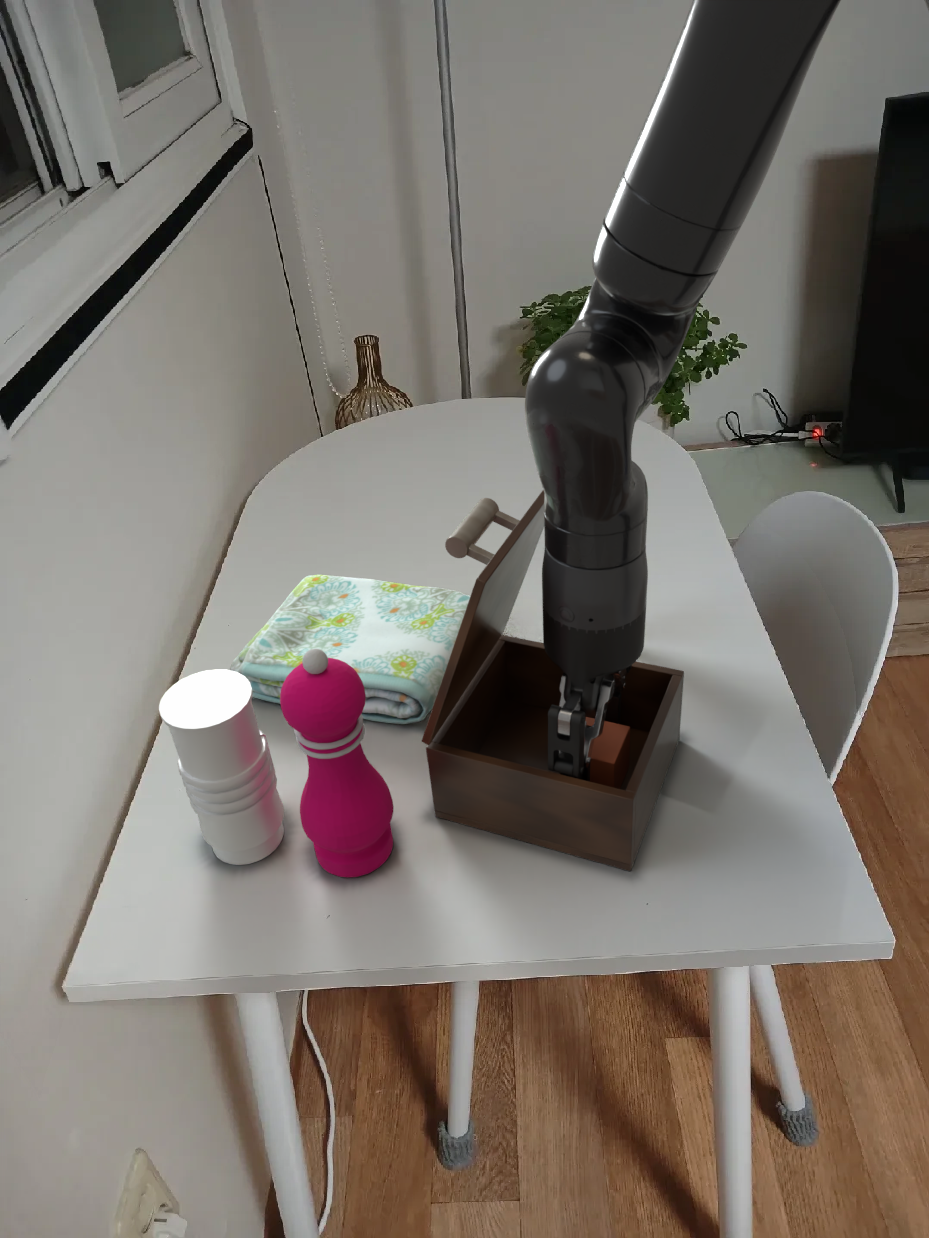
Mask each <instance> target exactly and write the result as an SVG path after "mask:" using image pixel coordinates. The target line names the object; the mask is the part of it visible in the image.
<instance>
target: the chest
mask: <svg viewBox="0 0 929 1238" xmlns="http://www.w3.org/2000/svg"><path fill="white" fill-rule="evenodd" d="M563 672H564V671H563V670H562V669H561V668H560V667H559V666H558V665H556V664H555V663H554V662H553V661H552V660H551V659H550V658H549V656H548V655H547V653H546V651H545V648H544V644H543V642H540V641H535V640H530V639H525V638H519V637H515V636H509V635H505V634H502V635H501V637H500V638H499V640H498V641H497V643H496V644H495V646H494V647H493V649H492V650H491V652H490V654H489V655H488V657H487V658H486V660H485V661H484V663H483V664H482V666H481V667H480V669H479V670H478V672H477V673H476V675H475V676H474V678H473V679H472V681H471V682H470V684H469V685H468V687H467V688H466V690H465V692H464V693H463V695H462V696H461V698H460V699H459V701H458V702H457V704H456V705H455V707H454V708H453V710H452V711H451V713H450V714H449V716H448V717H447V719H446V720H445V722H444V723H443V725H442V726H441V728H440V729H439V731H438V733H437V734H436V736H435V737H434V739H433V740H432V742H431V743H430V745H427V744H426V747H425V750H426V751H425V752H426V759H427V766H428V767H427V768H428V773H429V781H430V788H431V795H432V802H433V809H434V817H436V818H439V819H443V820H446V821H449V822H453V823H457V824H460V825H464V826H468V827H472V828H475V829H477V830H482V831H485V832H490V833H492V834H495V835H499V836H504V837H506V838H510V839H514V840H517V841H520V842H524V843H527V844H531V845H535V846H538V847H543V848H545V849H549V850H553V851H556V852H560V853H563V854H567V855H570V856H574V857H578V858H581V859H583V860H584V859H585V860H588V861H592V862H595V863H599V864H603V865H606V866H610V867H613V868H617V869H620V870H624V871H627V872H631V871H632V870H633V866H634V865H635V861H636V858H637V855H638V853H639V850H640V848H641V845H642V842H643V840H644V837H645V834H646V832H647V828H648V826H649V824H650V821H651V818H652V815H653V813H654V809H655V806H656V804H657V802H658V798H659V796H660V793H661V791H662V788H663V785H664V782H665V779H666V778H667V774H668V772H669V769H670V766H671V764H672V761H673V758H674V755H675V752H676V749H677V748H678V744H679V741H680V737H681V724H682V723H681V722H682V708H683V695H684V694H683V693H684V678H685V671H684V670H683V669H682V670H681V669H677V668H671V667H667V666H661V665H656V664H651V663H647V662H640V661H638V660H636V661H635V662H634V663H633V664H632V668H631V670H630V671H629V673H627V675H626V679H625V682H626V686H625V688H624V689H623V692H621V713H620V723H619V724H621V725H625V726H629V727H630V751H629V768H628V770H627V773H626V775H625V778H624V780H623V782H622V785H621V787H620V789H617V788H613V787H609V786H605V785H601V784H597V783H593V782H589V781H585V780H581V779H577V778H573V777H569V776H565V775H561V774H560V773H558V772H554V771H550V770H548V710H549V709H550V707H551V705H556V706H559V704H560V699H561V692H560V690H559V688H560V682H561V677H562V674H563ZM585 717H588V716H585ZM590 718H593V717H590Z"/></svg>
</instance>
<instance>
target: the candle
mask: <svg viewBox="0 0 929 1238" xmlns="http://www.w3.org/2000/svg"><path fill="white" fill-rule="evenodd" d="M252 694H253V691H252V688H251V685H250V682H249V680H248V679H247V678H246V677H245V676H244V675H242V674H240V673H238V672H235V671H231V670H230V669H224V668H222V669H219V668H214V669H206V670H201V671H199V672H195V673H192V674H189V675H188V676H186V677H183V678H181V679H180V680H178V681H177V682H175V683H174V684H172V685H171V686H170V687H169V688H168V689H167V690H166V691H165V692H164V694H163V696H162V697H161V698H160V701H159V705H158V710H159V715H160V718H161V720H162V722H163V723H164V724H165V726H166V727H168V730H169V733H170V735H171V738H172V742H173V744H174V747H175V750H176V753H177V756H178V758H177V768H178V773H179V775H180V777H181V781H182V785H183V786H184V788H185V793H186V795H187V796H186V797H187V798H188V800H189V804H190V806H191V809H192V810H193V812H194V813H195V814H196V815H197V818H198V822H199V823H198V824H199V827H200V833H201V837H202V838H203V840H204V841H205V842H206V844H208V845H209V846H210V847H212V851H213V853H214V855H215V856H216V857H217V859H219V860H220V861H222V862H223V863H225V864H230V865H236V866H245V865H251V864H253V863H256V862H259V861H261V860H263V859H265V858H266V857H269V856H270V855H271V854H272V853H273V852H274V851H275V850H276V849H277V848H278V847H279V846H280V844H281V843H282V840H283V838H284V833H285V827H284V824H283V821H284V819H285V808H284V805H283V801H282V799H281V796H280V794H279V791H278V789H277V788H278V787H277V786H278V785H277V784H278V783H277V782H278V778H277V775H276V770H275V767H274V766H275V765H274V762H273V759H272V755H271V751H270V746H269V743H268V739H267V735H266V734H265V732H263V731H262V730H261V729H260V728H259V724H258V720H257V716H256V712H255V710H254V709H255V708H254V706H253V702H252V701H253V697H252Z"/></svg>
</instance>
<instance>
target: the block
mask: <svg viewBox="0 0 929 1238" xmlns="http://www.w3.org/2000/svg"><path fill="white" fill-rule="evenodd" d="M585 721H586V722H587V724H586V725H589V726H592V725H593V724H594V721H595V719H594V718H590V717H586V720H585ZM584 741H585V738H584ZM629 751H630V727H629V726H625V725H621V724H616V723H612V722H607V721H605V722H604V727H603V732H602V735H601V736H600V737H597V738H595V740H594V744H593V749H592V754H591V763H590V782H593V783H597V784H601V785H605V786H609V787H613V788H617V789H620V787H621V785H622V782H623V780H624V778H625V775H626V773H627V770H628V768H629Z"/></svg>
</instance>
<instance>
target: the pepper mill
mask: <svg viewBox="0 0 929 1238" xmlns="http://www.w3.org/2000/svg"><path fill="white" fill-rule="evenodd" d="M365 699H366V696H365V689H364V685H363V682H362V680H361V678H360V676H359V675H358V673H357V672H356V671H355V669H354V668H353V667H351V666H350V665H348V664H347V663H345V662H343V661H341V660H338V659H334V658H328V657H327V655H326V654H325V652H323V651H322V650H320V649H311V650H309V651H307V652H306V653H305V655H304V656H303V660H302V664H300V665H298V666H297V667H296V668H294V669H293V670H292V671H291V672H290V674H289V675H288V676H287V677H286V679H285V681H284V683H283V685H282V688H281V693H280V710H281V713H282V716H283V718H284V719H285V721H286V722H287V724H288V725H289V726H290V727H291V728H292V729H293V732H294V736H295V738H296V745H297V747H298V749H299V750H300V751H301V752H302V753H303V754H305V755H306V758H307V765H308V770H307V771H308V773H307V779H306V782H305V784H304V786H303V790H302V793H301V796H300V803H299V816H300V822H301V823H300V824H301V827H302V830H303V832H304V833H305V835H306V837H307V838H308V839H309V840H310V841H311V842H312V844H313V849H314V852H315V857H316V860H317V862H318V864H319V865H320V867H322V869H323V870H324V871H326V872H327V873H329V874H331V875H334V876H336V877H338V878H339V877H340V878H358V877H359V878H360V877H362V876H364V875H365V876H366V875H368V874H371V873H372V872H374V871H376V870H378V869H379V868H380V867H381V866H383V864H384V863H386V861H387V860H388V858H389V857H390V856H391V853H392V852H393V851H392V850H393V849H394V848H393V847H394V837H393V831H392V825H391V822H392V820H393V815H394V801H393V797H392V794H391V791H390V787H389V786H388V784H387V782H386V780H385V779H384V777H383V776H382V774H381V773H380V772H379V771H378V770H377V769H376V768H375V767H374V766H373V764H372V763H371V762H370V761H369V759H368V758H367V756H366V754H365V752H364V749H363V746H362V741H363V739H364V737H365V734H366V726H365V724H364V719H363V716H362V714H361V713H362V711H363V709H364V706H365Z"/></svg>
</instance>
